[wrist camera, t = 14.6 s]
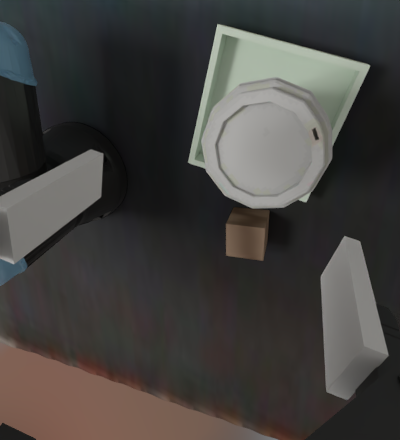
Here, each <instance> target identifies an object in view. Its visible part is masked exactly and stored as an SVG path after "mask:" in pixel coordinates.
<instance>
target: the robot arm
mask: <svg viewBox="0 0 400 440" xmlns="http://www.w3.org/2000/svg"><path fill="white" fill-rule="evenodd" d="M35 86H37V80H36V79H35V78H34V75H33V70H32V65H31V60H30V55H29V50H28V46H27V43H26V41H25V39H24V37H23V36H22V35H21V34H20V32H18V31H17V30H16V29H15V28H14V27H12V26H10V25H8V24H6V23H3V22H0V286H1V285H3V284H4V283H6V282H7V281H8V280H10V279H11V278H13V277H14V276H15V275H17V274H18V273H21V272H23V271H25V270H26V269H27V267H29V266H30V265H31V264H32V263H33V262H35V261H36V260H37V259H38V258H39V257H40V256H42V255H43V254H44V253H45V252H46V251H48V250H49V249H50V248H51V247H52V246H54V245H55V244H56V243H57V242H58V241H59V240H61V239H62V238H63V237H64V236H65V235H67V234H68V233H69V232H70V231H71V230H72V229H74V228H75V227H76V226H78V225H82V224H85V223H88V222H90V221H95V220H99V219H102V218H104V217H106V216H108V215H109V214H111V213H112V212H113V211H114V210H115V209H116V208H117V207H118V206H119V205H120V204H121V203H122V201H123V200H124V197H125V195H126V191H127V174H126V170H125V166H124V164H123V161H122V159H121V157H120V155H119V153H118V152H117V150H116V149H115V147H114V146H113V145H112V144H111V143H110V141H109V140H108V139H107V138H106V137H104V136H103V135H102V134H101V133H99V132H98V131H96V130H95V129H93V128H91V127H89V126H87V125H84V124H81V123H75V122H66V123H62V124H59V125H56V126H53V127H50V128H48V129H46V130H45V131H43V132H42V129H41V122H40V115H39V108H38V101H37V94H36V87H35ZM321 293H322V314H323V334H324V354H325V374H326V392H328V393H331V394H333V395H336V396H338V397H341V398H343V399H346V400H348V399H349V398H350V397H351V396H352V395H353V394H354V393H355V392H356V398H354V399H353V400H352V401H351V402H350V403H348V404H347V405H346V406H345V407H344V408H342V409H341V410H340V411H339V412H338V413H336V414H335V415H334V416H333V417H332V418H330V419H329V420H328V421H327V422H326V423H324V424H323V425H322V426H321V427H320V428H318V429H317V430H316V431H315V432H314V433H312V434H311V435H310V436H309V437H308V438H306V439H305V440H400V332H399V327H398V324H397V320H396V318H395V317H394V316H393V314H392V313H391V311H390V310H389V309H388V308H387V307H384V306H381V305H378V304H376V303H375V299H374V295H373V291H372V287H371V283H370V279H369V275H368V271H367V267H366V263H365V259H364V255H363V251H362V247H361V243H360V241H357V240H355V239H352V238H349V237H346V236H344V238H343V239H342V241H341V243H340V245H339V246H338V248H337V250H336V251H335V253H334V255H333V256H332V258H331V260H330V261H329V263H328V265H327V267H326V268H325V270H324V272H323V273H322V275H321ZM0 440H36V439H35V438H33V437H31V436H29V435H27V434H25V433H23V432H21V431H19V430H16V429H14V428H12V427H10V426H8V425H6V424H4V423H2V425H1V426H0Z"/></svg>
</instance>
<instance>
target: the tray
mask: <svg viewBox="0 0 400 440" xmlns="http://www.w3.org/2000/svg"><path fill="white" fill-rule="evenodd" d="M369 68H370V65H368V64H366V63H363V62H359V61H355V60H352V59H348V58H344V57H341V56H337V55H333V54H330V53H326V52H322V51H318V50H315V49H311V48H307V47H304V46H300V45H296V44H292V43H289V42H285V41H281V40H278V39H274V38H270V37H267V36H263V35H259V34H255V33H252V32H248V31H244V30H241V29H237V28H233V27H229V26H226V25H220V24H217V29H216V34H215V38H214V43H213V48H212V53H211V57H210V62H209V67H208V71H207V76H206V81H205V85H204V90H203V95H202V99H201V104H200V109H199V113H198V118H197V123H196V127H195V132H194V137H193V141H192V146H191V151H190V155H189V160H188V163H190V164H193V165H196V166H199V167H202V168H205V169H206V167H205V161H204V155H203V149H202V143H201V139H202V136H203V133H204V131H205V128H206V125H207V122H208V119H209V116H210V113H211V111H212V109H213V107H214V106H215V105H216V104H217V103H218V102H219V101H220V100H222V99H223V98H224V97H225V96H226V95H227V94H228V93H230V92H231V91H232V90H233V89H234V88H235V87H237V86H238V85H239V84H240V83H245V82H250V81H256V80H262V79H267V78H273V77H278V78H281V79H283V80H286V81H288V82H290V83H293V84H295V85H298V86H300V87H302V88H305V89H307V90H310V91H312V93H313V94H314V96H315V97H316V99H317V100H318V102H319V103H320V105H321V106H322V108H323V109H324V111H325V112H326V114H327V115H328V118H329V121H330V124H331V128H332V146H333V144H334V142H335V140H336V138H337V136H338V134H339V131H340V129H341V127H342V125H343V123H344V121H345V119H346V117H347V115H348V112H349V110H350V108H351V106H352V104H353V102H354V100H355V98H356V95H357V93H358V91H359V89H360V87H361V85H362V83H363V81H364V78H365V76H366V74H367V72H368V70H369ZM310 193H311V192H310ZM310 193H309V194H307V195H305V196H303V197H302V198H300V199H298V200H300V201H303V202H307V199H308V197H309V195H310Z"/></svg>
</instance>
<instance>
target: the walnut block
mask: <svg viewBox="0 0 400 440" xmlns="http://www.w3.org/2000/svg"><path fill="white" fill-rule="evenodd" d="M269 211H270V210H260V209H249V208H238V207H234V208H233V210H232V212H231V214H230V216H229V219H228V221H227V223H226V256H232V257H239V258H247V259H254V260H261V261H263V259H264V255H265V250H266V245H267V240H268V226H269Z"/></svg>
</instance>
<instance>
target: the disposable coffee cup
mask: <svg viewBox="0 0 400 440" xmlns="http://www.w3.org/2000/svg"><path fill="white" fill-rule="evenodd" d="M201 143H202V149H203V155H204V161H205V167H206V172H207V173H208V174H209V176H210V177H211V178H212V180H213V181H214V182H215V184H216V185H217V186H218V187H219V189H220V190H221V191H222V193H223V194H224V195H225V196H227V197H229V198H231V199H233V200H235V201H237V202H240V203H242V204H244V205H246V206H248V207H250V208H252V209H255V208H283V207H286V206H288V205H289V204H291V203H293V202H295V201H296V200H298V199H300V198H302V197H303V196H305V195H307V194H309V193H310V192H312V191H313V190H314V188H315V187H316V185H317V183H318V182H319V180H320V178H321V177H322V175H323V173H324V172H325V170H326V168H327V167H328V165H329V163H330V162H331V160H332V128H331V124H330V121H329V118H328V115H327V114H326V112H325V111H324V109H323V108H322V106H321V105H320V103H319V102H318V100H317V99H316V97H315V96H314V94H313V93H312V91H310V90H307V89H305V88H302V87H300V86H298V85H295V84H293V83H290V82H288V81H286V80H283V79H281V78H278V77H273V78H267V79H262V80H256V81H250V82H245V83H240V84H239V85H238V86H237V87H235V88H234V89H233V90H232V91H231V92H230V93H228V94H227V95H226V96H225V97H224V98H223V99H222V100H220V101H219V102H218V103H217V104H216V105H215V106H214V107H213V109H212V111H211V113H210V116H209V119H208V122H207V125H206V128H205V131H204V133H203V136H202V139H201Z"/></svg>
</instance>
